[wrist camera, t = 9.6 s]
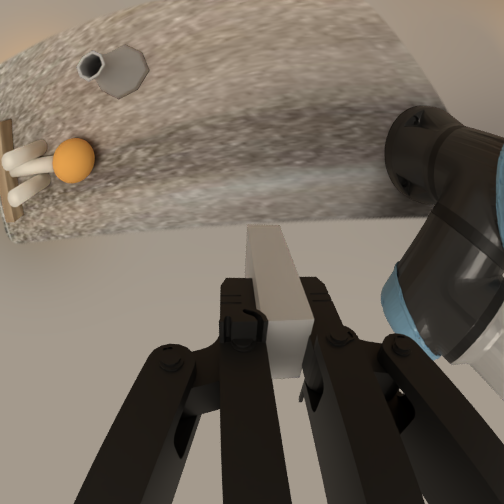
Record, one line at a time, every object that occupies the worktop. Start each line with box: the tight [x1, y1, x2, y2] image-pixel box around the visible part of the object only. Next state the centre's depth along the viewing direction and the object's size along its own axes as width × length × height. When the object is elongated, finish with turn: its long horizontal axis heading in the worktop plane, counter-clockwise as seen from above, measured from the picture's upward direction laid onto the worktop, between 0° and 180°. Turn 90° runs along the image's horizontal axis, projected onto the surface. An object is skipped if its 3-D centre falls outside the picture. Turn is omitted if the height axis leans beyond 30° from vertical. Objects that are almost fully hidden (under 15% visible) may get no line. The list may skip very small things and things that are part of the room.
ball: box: [52, 138, 95, 183], centre depth 33 cm, size 6×6×6 cm
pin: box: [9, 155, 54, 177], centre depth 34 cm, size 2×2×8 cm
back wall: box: [0, 119, 24, 222], centre depth 33 cm, size 2×16×3 cm, turn 177°
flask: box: [76, 45, 149, 99], centre depth 26 cm, size 7×7×10 cm
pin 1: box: [2, 139, 47, 171], centre depth 30 cm, size 2×2×8 cm
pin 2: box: [8, 173, 51, 207], centre depth 32 cm, size 2×2×8 cm
